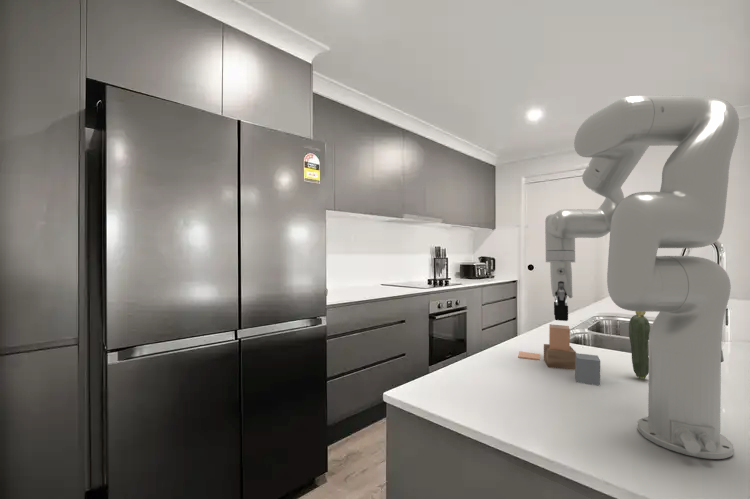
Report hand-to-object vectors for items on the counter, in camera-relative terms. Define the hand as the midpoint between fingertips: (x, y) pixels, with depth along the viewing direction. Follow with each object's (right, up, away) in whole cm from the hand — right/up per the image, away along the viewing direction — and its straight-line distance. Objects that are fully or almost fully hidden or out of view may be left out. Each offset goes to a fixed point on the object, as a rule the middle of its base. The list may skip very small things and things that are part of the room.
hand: (560, 317), depth 104 cm
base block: (0, -14, +1) cm, 14 cm away
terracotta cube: (0, -9, +1) cm, 9 cm away
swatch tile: (-5, -13, +9) cm, 17 cm away
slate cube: (+1, -14, -12) cm, 18 cm away
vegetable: (+15, -14, -10) cm, 23 cm away
